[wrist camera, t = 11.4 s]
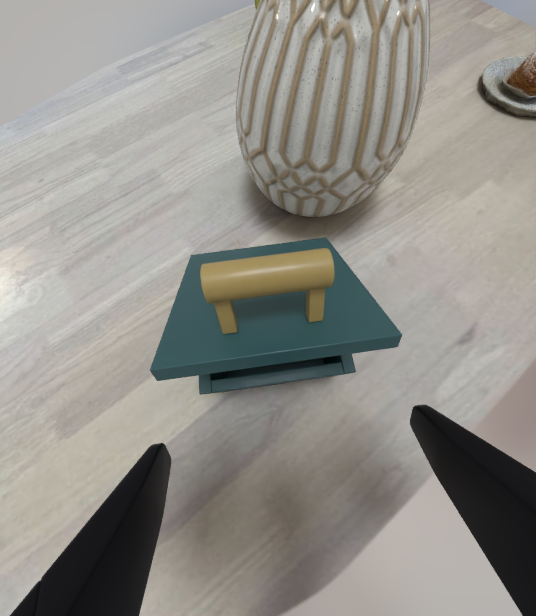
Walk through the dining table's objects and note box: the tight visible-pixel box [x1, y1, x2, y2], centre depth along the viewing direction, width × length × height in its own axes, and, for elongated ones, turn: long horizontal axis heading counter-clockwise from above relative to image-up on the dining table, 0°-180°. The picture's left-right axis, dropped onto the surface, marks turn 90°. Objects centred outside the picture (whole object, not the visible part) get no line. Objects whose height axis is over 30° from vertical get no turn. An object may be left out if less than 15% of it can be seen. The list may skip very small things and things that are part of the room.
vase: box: [236, 0, 430, 217], centre depth 19 cm, size 16×16×20 cm
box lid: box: [150, 238, 402, 381], centre depth 13 cm, size 11×11×4 cm
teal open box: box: [199, 354, 356, 394], centre depth 20 cm, size 10×11×6 cm
